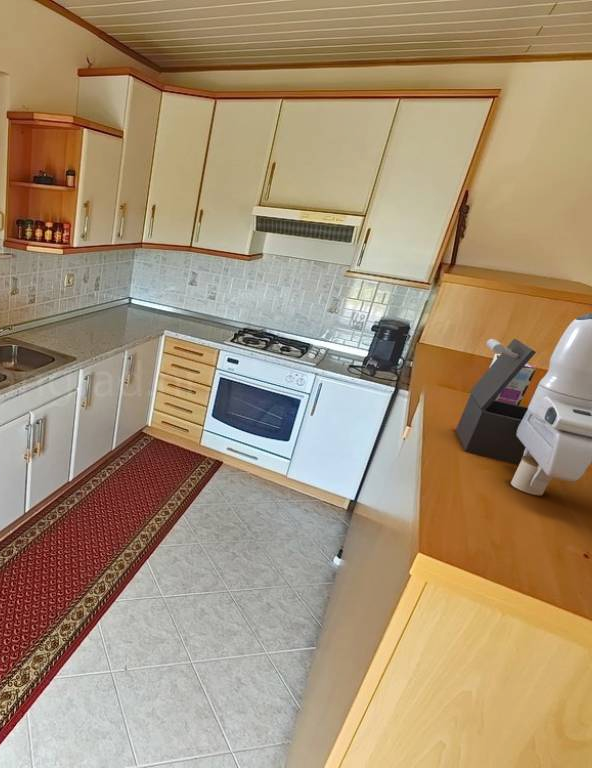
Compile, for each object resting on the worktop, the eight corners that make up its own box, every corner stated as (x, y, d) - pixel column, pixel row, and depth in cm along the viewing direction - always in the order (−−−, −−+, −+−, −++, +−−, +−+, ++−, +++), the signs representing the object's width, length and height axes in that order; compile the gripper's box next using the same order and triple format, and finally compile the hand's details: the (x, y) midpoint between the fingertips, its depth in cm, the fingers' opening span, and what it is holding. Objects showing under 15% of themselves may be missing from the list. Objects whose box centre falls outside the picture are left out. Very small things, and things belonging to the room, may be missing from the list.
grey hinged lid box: (525, 448, 104) (543, 410, 101) (544, 471, 94) (564, 430, 91) (455, 430, 110) (470, 394, 107) (465, 451, 99) (482, 411, 96)
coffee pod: (539, 487, 87) (551, 461, 85) (547, 498, 83) (560, 472, 81) (507, 478, 89) (519, 453, 87) (513, 489, 85) (526, 463, 83)
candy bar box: (506, 437, 109) (538, 368, 103) (479, 431, 111) (509, 363, 105) (491, 421, 118) (520, 357, 113) (467, 415, 120) (493, 352, 115)
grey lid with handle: (518, 340, 100) (491, 328, 102) (536, 352, 90) (506, 339, 91) (473, 393, 106) (448, 381, 108) (485, 410, 96) (457, 397, 97)
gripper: (524, 387, 91) (495, 453, 96) (562, 422, 74) (523, 499, 78) (568, 396, 88) (535, 463, 93) (617, 434, 71) (574, 514, 76)
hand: (530, 480), depth 86 cm, fingers closed on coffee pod, 4 cm apart
